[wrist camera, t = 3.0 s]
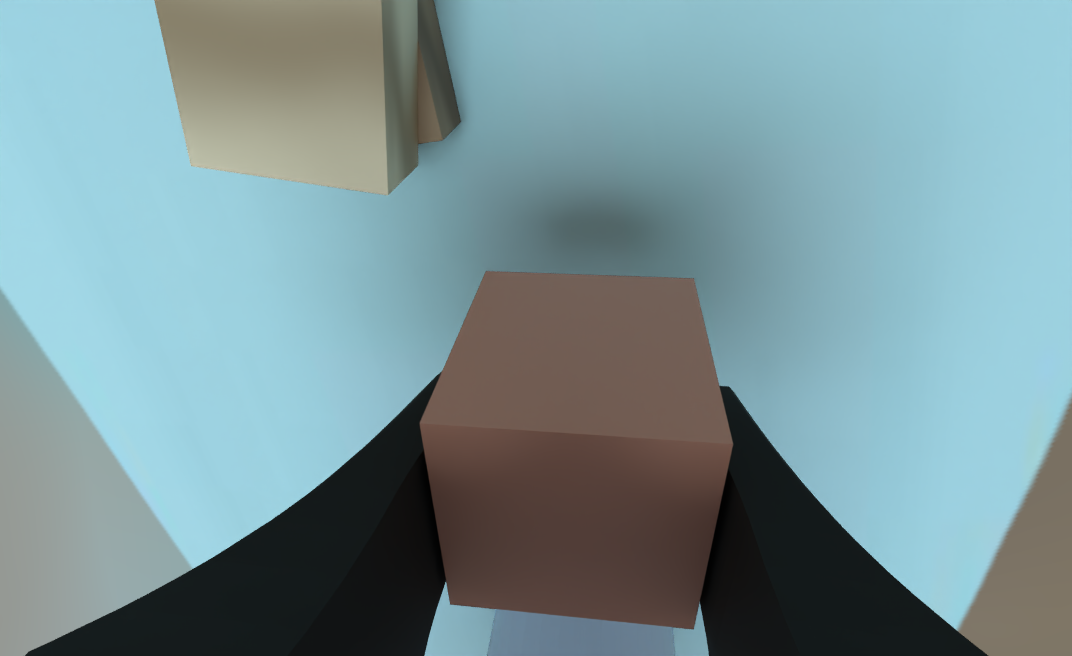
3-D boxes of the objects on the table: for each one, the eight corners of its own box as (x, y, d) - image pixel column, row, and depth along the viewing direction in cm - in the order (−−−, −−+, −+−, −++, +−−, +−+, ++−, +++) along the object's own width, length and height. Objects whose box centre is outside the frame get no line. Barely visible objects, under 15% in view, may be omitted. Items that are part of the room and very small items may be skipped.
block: (672, 437, 13) (693, 629, 9) (497, 425, 14) (450, 604, 10) (693, 278, 11) (733, 444, 7) (485, 271, 11) (419, 423, 8)
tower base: (463, 119, 18) (442, 140, 16) (316, 141, 19) (278, 164, 17) (419, -76, 15) (388, -82, 13) (252, -38, 16) (197, -38, 14)
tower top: (418, 165, 16) (388, 195, 14) (245, 140, 16) (190, 166, 14) (417, -47, 13) (379, -49, 11) (211, -73, 14) (137, -80, 12)
